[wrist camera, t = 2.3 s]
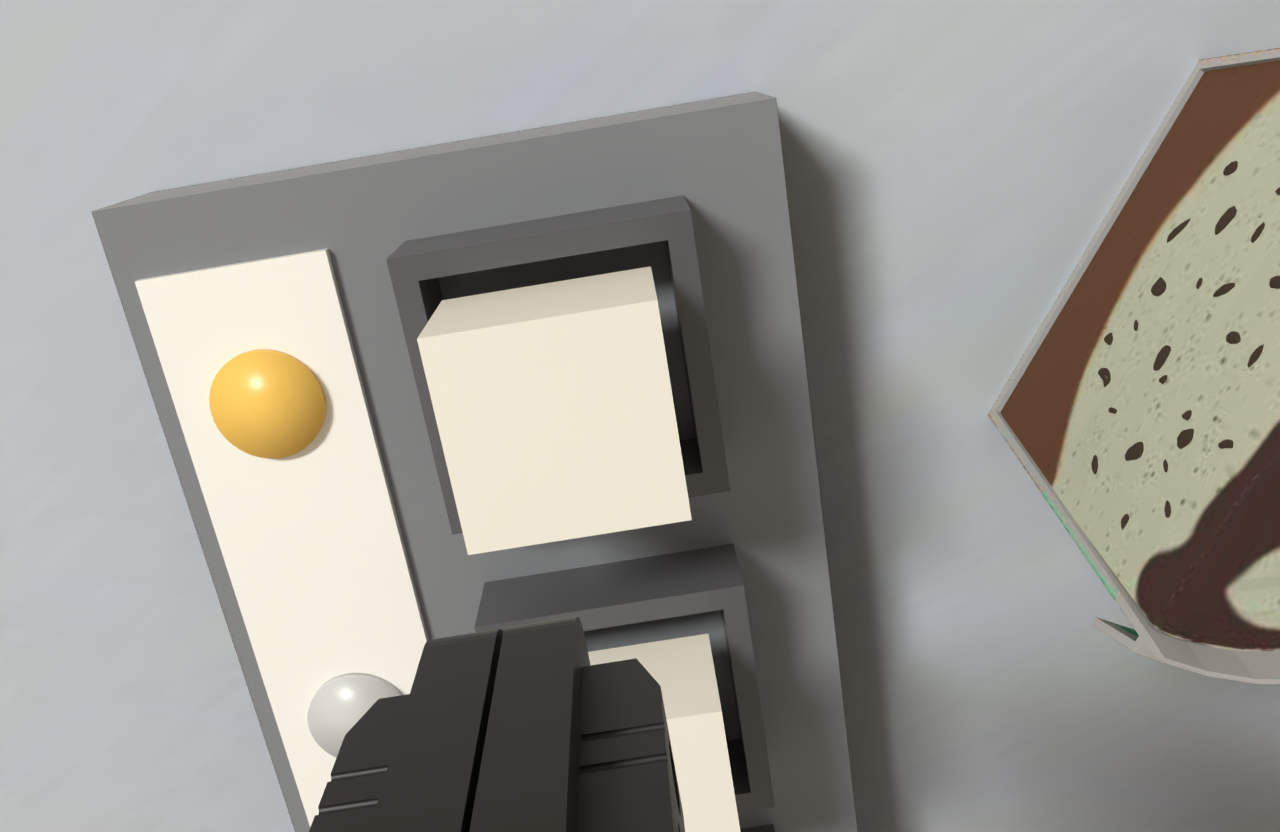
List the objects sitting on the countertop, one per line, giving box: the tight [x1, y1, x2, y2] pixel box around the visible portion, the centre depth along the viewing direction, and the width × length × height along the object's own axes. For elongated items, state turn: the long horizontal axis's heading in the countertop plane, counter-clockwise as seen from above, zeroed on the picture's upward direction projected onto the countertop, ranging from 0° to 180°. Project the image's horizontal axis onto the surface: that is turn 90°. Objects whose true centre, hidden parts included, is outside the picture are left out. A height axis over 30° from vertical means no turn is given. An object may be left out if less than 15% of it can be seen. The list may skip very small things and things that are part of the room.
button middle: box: [588, 634, 741, 832], centre depth 22 cm, size 4×4×3 cm
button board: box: [92, 92, 857, 832], centre depth 26 cm, size 14×25×5 cm, turn 9°
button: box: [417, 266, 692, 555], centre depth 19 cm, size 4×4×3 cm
